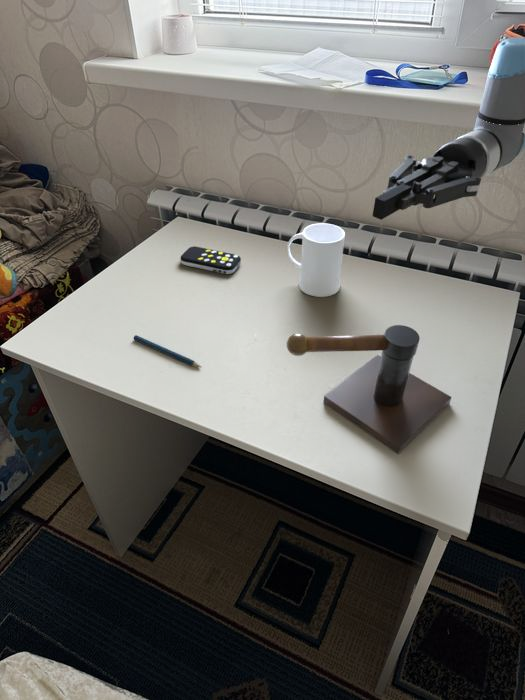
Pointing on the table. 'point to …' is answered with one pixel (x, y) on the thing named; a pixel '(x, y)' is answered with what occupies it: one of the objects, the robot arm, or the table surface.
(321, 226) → the mug
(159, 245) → the table surface
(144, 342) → the pencil
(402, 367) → the valve stand
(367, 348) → the handle
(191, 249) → the remote control
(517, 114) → the robot arm
